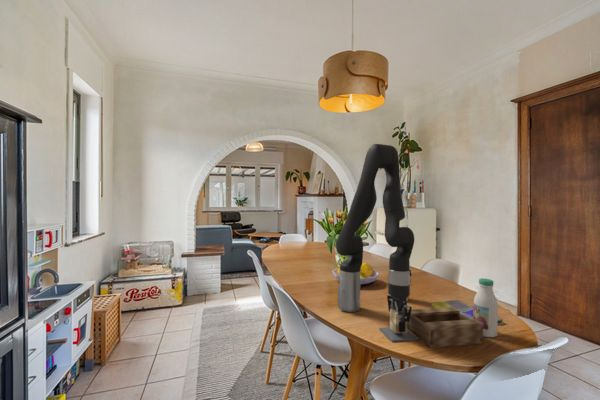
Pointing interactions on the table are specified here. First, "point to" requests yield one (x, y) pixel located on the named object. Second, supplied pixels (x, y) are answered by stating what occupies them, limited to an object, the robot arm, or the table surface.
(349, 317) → the table surface
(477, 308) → the milk bottle
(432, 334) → the walnut box
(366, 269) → the fruit bowl
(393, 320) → the maple block
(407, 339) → the slate pad
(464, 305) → the dish towel
